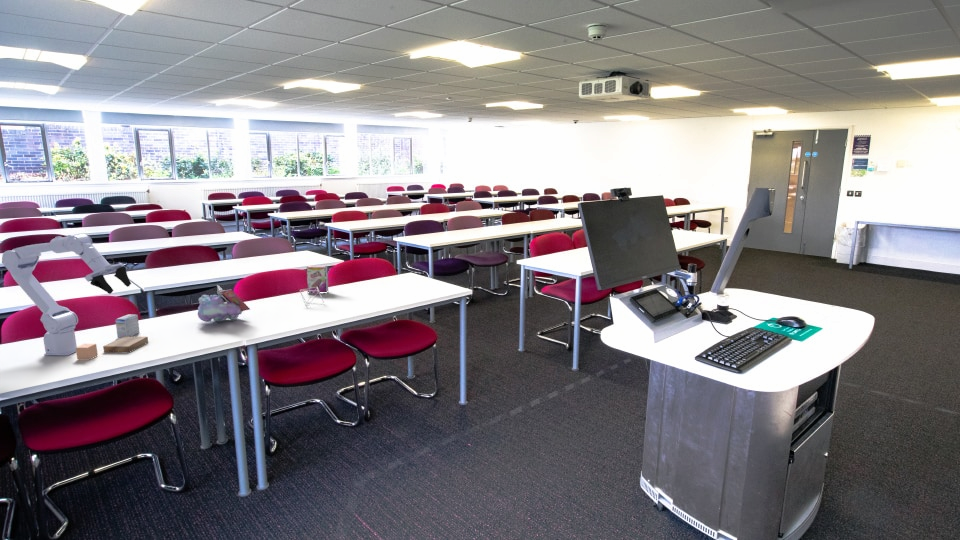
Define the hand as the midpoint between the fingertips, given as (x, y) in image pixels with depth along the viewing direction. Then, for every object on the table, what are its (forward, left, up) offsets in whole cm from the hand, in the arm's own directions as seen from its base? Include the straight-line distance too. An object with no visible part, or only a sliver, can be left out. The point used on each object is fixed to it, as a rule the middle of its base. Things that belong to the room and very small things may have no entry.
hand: (120, 288), depth 195 cm
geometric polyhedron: (+49, +76, -27) cm, 94 cm away
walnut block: (-6, +8, -27) cm, 29 cm away
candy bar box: (+44, +103, -27) cm, 115 cm away
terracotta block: (-13, -4, -27) cm, 30 cm away
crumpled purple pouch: (+17, +43, -27) cm, 54 cm away
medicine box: (-15, +23, -27) cm, 39 cm away
